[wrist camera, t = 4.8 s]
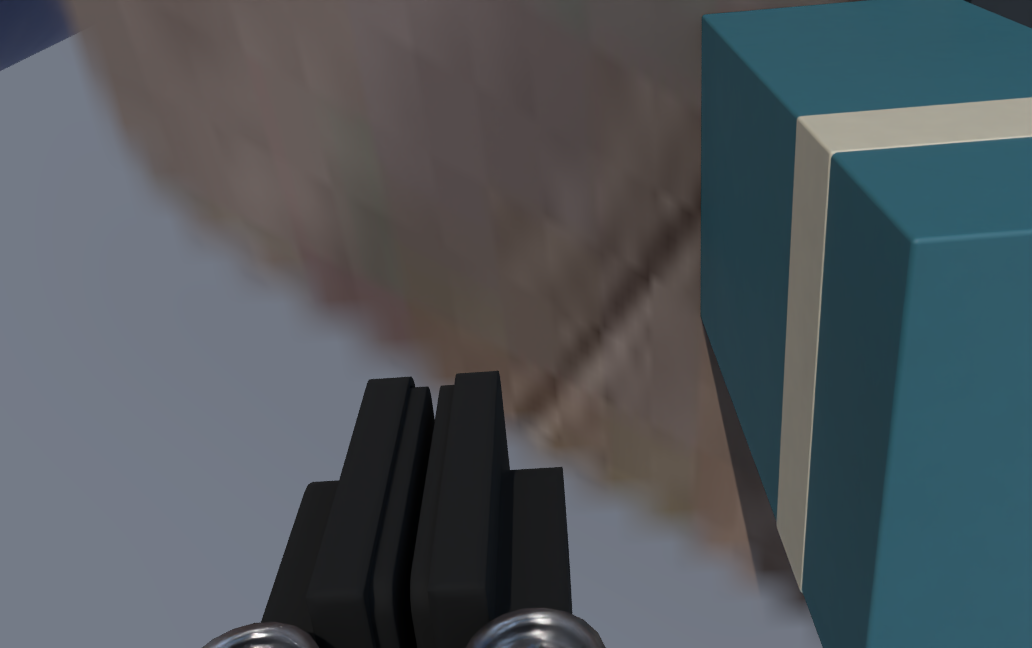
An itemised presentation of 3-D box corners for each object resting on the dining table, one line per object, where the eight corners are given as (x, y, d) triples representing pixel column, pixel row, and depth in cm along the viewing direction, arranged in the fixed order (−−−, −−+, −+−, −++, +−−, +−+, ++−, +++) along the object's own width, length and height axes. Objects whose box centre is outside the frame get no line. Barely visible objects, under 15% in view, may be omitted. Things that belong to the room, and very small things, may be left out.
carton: (699, 318, 23) (854, 743, 13) (700, 13, 20) (910, 238, 9) (913, 301, 23) (1256, 720, 12) (949, -9, 20) (1456, 196, 9)
